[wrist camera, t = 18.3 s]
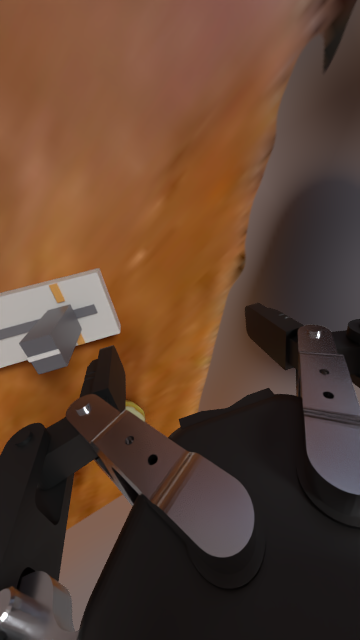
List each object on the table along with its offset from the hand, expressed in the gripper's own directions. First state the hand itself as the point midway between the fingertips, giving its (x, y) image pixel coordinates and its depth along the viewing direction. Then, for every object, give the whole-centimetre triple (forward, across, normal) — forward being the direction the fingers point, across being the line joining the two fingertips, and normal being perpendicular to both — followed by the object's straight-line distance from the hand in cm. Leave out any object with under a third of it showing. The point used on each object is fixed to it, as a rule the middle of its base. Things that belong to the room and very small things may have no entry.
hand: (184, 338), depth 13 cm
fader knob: (+21, +13, +3) cm, 25 cm away
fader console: (+24, +19, +4) cm, 31 cm away
